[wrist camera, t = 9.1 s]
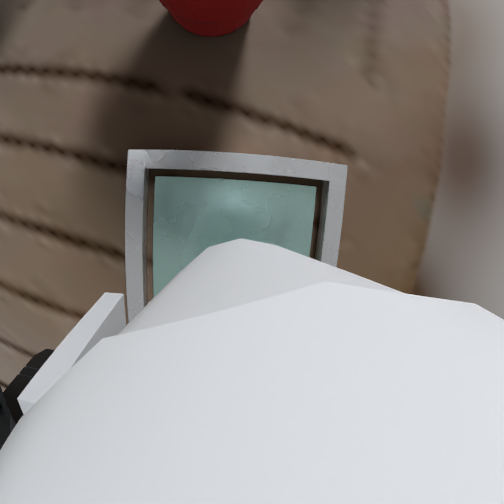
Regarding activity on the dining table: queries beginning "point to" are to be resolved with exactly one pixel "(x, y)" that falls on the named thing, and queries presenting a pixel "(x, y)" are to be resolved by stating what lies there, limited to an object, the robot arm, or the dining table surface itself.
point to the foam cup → (273, 396)
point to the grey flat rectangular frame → (223, 211)
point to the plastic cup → (211, 14)
